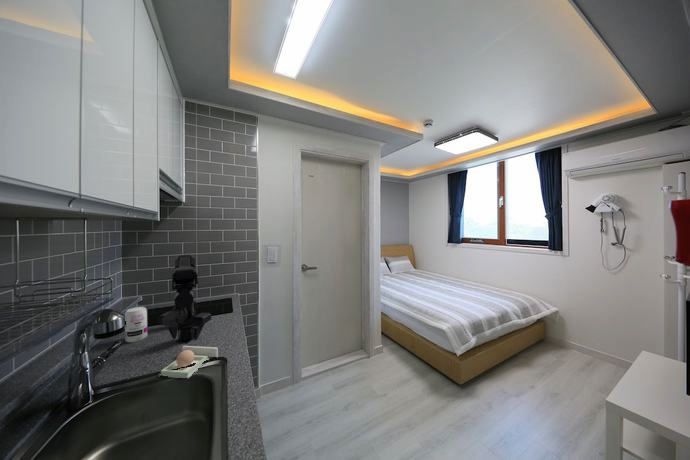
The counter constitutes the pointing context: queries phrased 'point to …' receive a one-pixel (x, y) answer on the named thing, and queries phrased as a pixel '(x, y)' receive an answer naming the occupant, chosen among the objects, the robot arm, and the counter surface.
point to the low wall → (202, 350)
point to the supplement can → (136, 324)
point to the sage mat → (183, 371)
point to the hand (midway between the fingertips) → (185, 339)
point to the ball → (185, 358)
